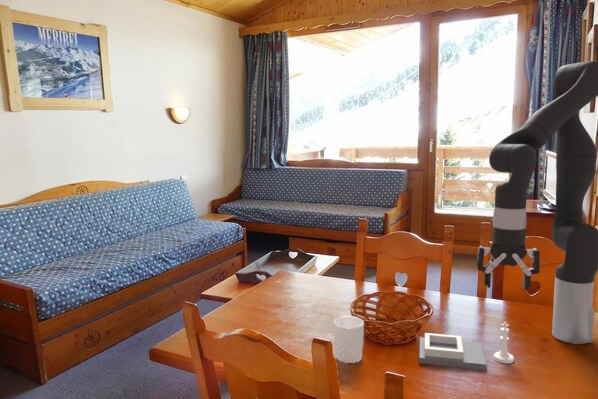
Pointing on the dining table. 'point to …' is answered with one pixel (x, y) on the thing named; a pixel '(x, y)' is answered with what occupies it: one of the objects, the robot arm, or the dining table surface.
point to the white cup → (348, 338)
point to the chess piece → (504, 347)
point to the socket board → (451, 352)
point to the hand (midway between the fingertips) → (506, 287)
